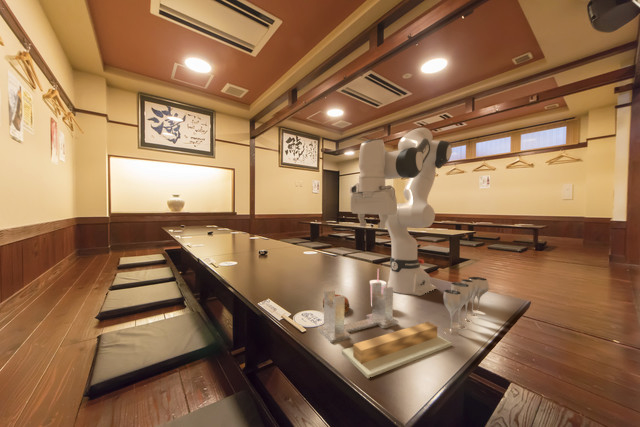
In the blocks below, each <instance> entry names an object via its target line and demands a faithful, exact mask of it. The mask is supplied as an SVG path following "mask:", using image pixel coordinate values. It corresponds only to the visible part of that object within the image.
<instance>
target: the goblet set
mask: <svg viewBox="0 0 640 427" xmlns="http://www.w3.org/2000/svg"><path fill="white" fill-rule="evenodd" d="M489 289H490V285H489V281H488V279H487V278H485V277H481V276H480V277H479V276H471V277H469V276H468V277H467V279H464V278H463V279H461V280H460V282H458V281H457V282H455V281H453V282H451V283H450V289H444V290H443V295H442V299H443V303H444V304H443V305H444V306H445V308H446V309H447V310H448V313H449V317H450V328H449V327H446V328H443V329H442V331H443V333H445V334H446V333H448V334H447V335H449V334H451V335H450V336H452V335H453V336H454V337H455V336H456V335H458V336H460V335H459V333H460V332H459V331H458V330H459V329H463V328H465V326H466V325H465V324H463V323H461V321H460V319H461V313H462V308H463V306H464V305H465V319H462V320H463V321H467V322H470V321H469V320H470V319H469V320H468V317H467V314H468V305H469V302H470V300H471V310H472V312H471V313H470V314H471V316H475V315H476V314H474V313H473V309H474V305H475V304H474V303H475V300H476V299H475V298H477V310H478V311H479V310H480V301H481V300H480V299H481V297H482V296H483V295H484V294H486V293H488V291H489ZM456 312H458V313H457V314H458V319H457V320H458V322H454V321H453V320H454V315H455V313H456ZM462 324H463V325H462ZM464 325H465V326H464ZM456 337H457V336H456Z"/></svg>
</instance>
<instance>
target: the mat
mask: <svg viewBox="0 0 640 427" xmlns="http://www.w3.org/2000/svg"><path fill="white" fill-rule="evenodd" d="M452 345H453V342H451V341H449V340H447V339H445V338H444V337H442V336H440V335H438V334H437V337H436V338H433V339H431V340H428V341H425V342H422V343H419V344H416V345H414V346H411V347H408V348H405V349H402V350H399V351H396V352H394V353H391V354H388V355H385V356H382V357H379V358H377V359H374V360H371V361H368V362H365V363H362V364H361V363H360V362H359V361H357V360H356V359H355V358H354V357H353V346H351V347H348V348H344V349H342V350H341V354H342V355H343V356H344V357H345V358H346V359H347V360H348V361H349V362H350V363H351V364H352V365H353V366H354V367H355V368H356V369H357V370H358V371H359V372H360V373H361V374H362V375H363V376H364V377H366V378H367V379H371V378H372V377H375V376H378V375H381V374H383V373H386V372H387V371H390V370H393V369H396V368H398V367H400V366H403V365H406V364H409V363H411V362H414V361H416V360H418V359H421V358H425V357H427V356H428V355H431V354H434V353H436V352H439V351H442V350H445V349H446V348H449V347H452ZM370 377H371V378H370Z"/></svg>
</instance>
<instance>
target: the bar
mask: <svg viewBox="0 0 640 427" xmlns="http://www.w3.org/2000/svg"><path fill="white" fill-rule="evenodd" d="M437 335H438V326H437V325H435V324H433V323H431V322H429V321H426V322H423V323H419V324H416V325H414V326H409V327H406V328H402V329H398V330H397V331H393V332H389V333H385V334H383V335H380V336H376V337H373V338H370V339H366V340H365V339H364V340H362V341H359V342H356V343H353V346H352V347H353V357H354V358H355V359H356V360H357V361H359V362H360V363H361V364H362V363H365V362H368V361H371V360H374V359H377V358H379V357H382V356H385V355H388V354H391V353H394V352H396V351H399V350H402V349H405V348H408V347H411V346H414V345H416V344H419V343H422V342H425V341H428V340H431V339H433V338H436V337H437Z"/></svg>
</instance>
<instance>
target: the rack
mask: <svg viewBox="0 0 640 427" xmlns="http://www.w3.org/2000/svg"><path fill="white" fill-rule="evenodd" d="M335 292H336V290H335V289H329V290H324V291H323V293H324V295H323V299H324V308H323V324H322V325H319V326H317V331H318V332H319V333H321V335H322V336H324V337H325V339H327V341H328V342H329V343H331V344H334V343H337V342H341V341H344V340H348V339H351V333H354V332H357V331H360V330H364V329H369V328H372V327H376V326H379V327H380V328H381V329H387V328H390V327H394V326H398V325H399V321H398V320H396V319H394V318H393V310H394V309H393V307H394V306H393V305H394V302H393V300H394V291H393V287H387V286H386V287H385V288H383V294H381V283H380V282H378V283H372V306H371V313H369V314H366V319H362V320H358V321H354V322H348V323H345V314H344V305H345V297H346V296H345V295H342V294H341V296H336V297H335Z"/></svg>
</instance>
